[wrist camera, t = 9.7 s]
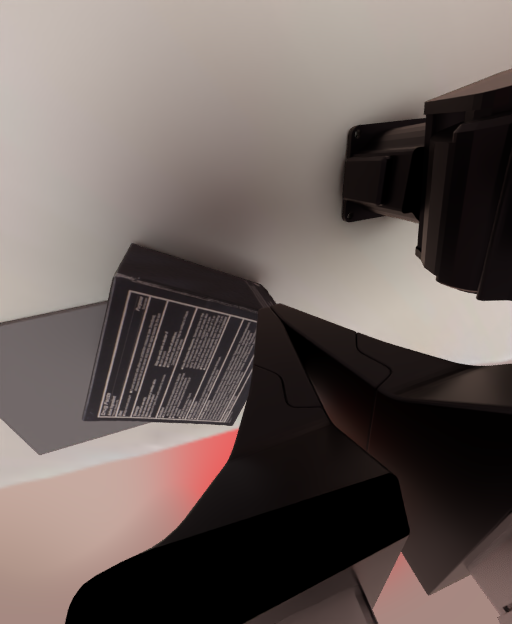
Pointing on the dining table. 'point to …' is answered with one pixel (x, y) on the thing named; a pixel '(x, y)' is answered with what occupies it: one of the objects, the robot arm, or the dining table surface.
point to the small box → (174, 343)
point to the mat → (52, 377)
